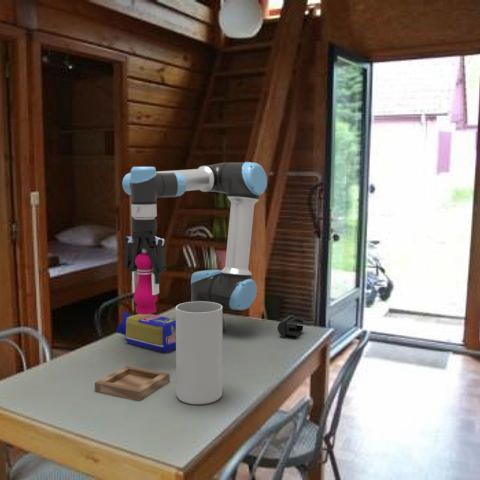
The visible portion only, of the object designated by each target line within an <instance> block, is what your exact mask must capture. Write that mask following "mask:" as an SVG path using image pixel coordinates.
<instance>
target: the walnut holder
mask: <svg viewBox="0 0 480 480" xmlns="http://www.w3.org/2000/svg"><path fill="white" fill-rule="evenodd" d="M170 376H171V374H170V373H169V372H164V371H158V370H153V369H148V368H141V367H136V366H132V365H125V366H124V367H121V368H119V369H118V370H115V371H114V372H113V373H111V374H109V375H107V376H105V377H103V378H101V379H99V380H97V381H96V382H94V392H95V393H101V394H105V395H109V396H115V397H119V398H123V399H129V400H133V401H137V402H140V401H142V400H143V399H145V398H146V397H148V396H150V395H151V394H154V392H156V391H158V390H160V389H161V388H163V387H164V386H165V385H167V384H168V383H170V381H171V380H170V379H171V378H170Z"/></svg>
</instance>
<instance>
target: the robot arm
mask: <svg viewBox="0 0 480 480" xmlns="http://www.w3.org/2000/svg"><path fill="white" fill-rule="evenodd" d="M267 186H268V177H267V174H266V171H265V170H264V168H263V166H262V165H261V164H260V163H257V162H250V161H242V162H241V161H239V162H220V163H215V164H209V165H208V164H207V165H201V166H199V167H198V168H192V169H179V170H177V169H176V170H162V171H157V170H156V166H132V167H131V168H130V172H129V173H127V174H125V175H124V177H123V179H122V189H123V191H124V192H125V194H127V195H129V196H130V203H131V204H130V205H131V206H130V207H131V209H130V210H131V211H130V212H131V218H132V219H131V231H132V234H131V236H124V238H123V241H124V245H125V246H124V248H125V249H124V264H123V265H124V269H125V270H126V269H127V270H129V275H130V279H129V280H130V282H131V283H132V286H131V287H132V293H134V294H135V291H136V288H137V286H138V282H139V275H138V274H137V269H138V267H137V266H136V264H135V259H136V257H137V255H139V254H140V253H143V252H142V249H146V251H147V253H148V254H149V258H150V261H151V264H152V268H153V274H152V295H156V294H157V295H158V294H160V284H161V283H162V272H165V271H167V269H168V268H167V258H166V247H165V246H166V238H160V237H159V236H158V234H157V229H158V223H157V222H158V220H157V218H156V217H158V214H157V213H158V210H157V199H158V198H177V197H181V196H182V195H184V194H185V192H190V191H201V192H204V193H207V192H211V193H213V192H214V193H220V194H227V199H228V200H229V202H230V212H229V220H228V221H229V222H228V231H227V233H228V234H227V243H226V254H225V265H224V267H223V269H207V270H198V271H194V272H193V273H192V274H191V281H190V295H191V296H190V298H191V299H190V302H196V301H204V302H214V303H218V304H220V305H222V308H227V309H228V308H229V309H231V310H235V311H237V310H238V311H244V310H247V309H249V308H250V307H252V306H251V305H252V304H253V303H254V302H255V299H256V298H257V293H258V285H257V284H256V282H255V281H254V280H253V279H252V277H253V276H252V275H253V274H252V271H250V270H249V263H250V253H251V243H252V234H253V233H252V231H253V222H254V211H255V204H256V203H258V202H259V200H260V196H261V195H263V194H264V193H265V191H266V189H267ZM226 322H227V321H226V320H225V316H224V314H223V312H222V333H224V332H225V331H226V329H227V323H226Z"/></svg>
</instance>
